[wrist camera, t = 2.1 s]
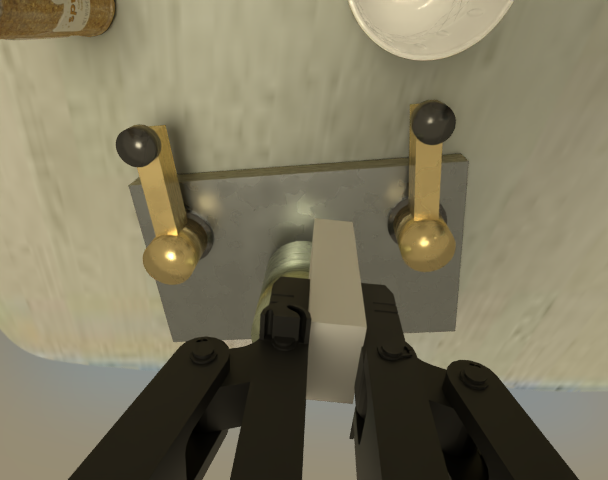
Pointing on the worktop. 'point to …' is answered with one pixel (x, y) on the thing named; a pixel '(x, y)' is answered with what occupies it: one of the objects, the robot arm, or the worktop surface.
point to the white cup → (427, 24)
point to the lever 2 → (425, 190)
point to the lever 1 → (163, 205)
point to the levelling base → (303, 241)
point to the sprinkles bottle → (54, 18)
